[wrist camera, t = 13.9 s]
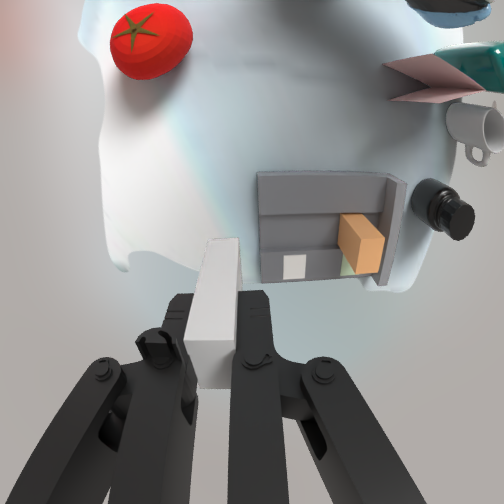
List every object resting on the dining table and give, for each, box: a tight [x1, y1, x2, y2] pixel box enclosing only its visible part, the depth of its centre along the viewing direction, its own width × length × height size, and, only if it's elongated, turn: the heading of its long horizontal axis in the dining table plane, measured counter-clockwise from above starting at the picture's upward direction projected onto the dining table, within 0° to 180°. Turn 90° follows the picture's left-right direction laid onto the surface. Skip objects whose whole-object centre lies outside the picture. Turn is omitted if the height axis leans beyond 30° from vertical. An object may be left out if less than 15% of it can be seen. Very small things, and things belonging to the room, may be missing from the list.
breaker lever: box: [337, 213, 385, 274], centre depth 42 cm, size 4×6×10 cm, turn 3°
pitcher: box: [435, 41, 504, 94], centre depth 21 cm, size 10×8×22 cm
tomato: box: [110, 3, 193, 80], centre depth 27 cm, size 12×12×13 cm
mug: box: [446, 102, 504, 167], centre depth 33 cm, size 12×8×11 cm
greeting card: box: [383, 54, 486, 103], centre depth 29 cm, size 11×7×15 cm, turn 82°
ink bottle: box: [412, 178, 475, 241], centre depth 40 cm, size 10×9×12 cm
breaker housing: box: [257, 171, 407, 286], centre depth 45 cm, size 24×20×6 cm
